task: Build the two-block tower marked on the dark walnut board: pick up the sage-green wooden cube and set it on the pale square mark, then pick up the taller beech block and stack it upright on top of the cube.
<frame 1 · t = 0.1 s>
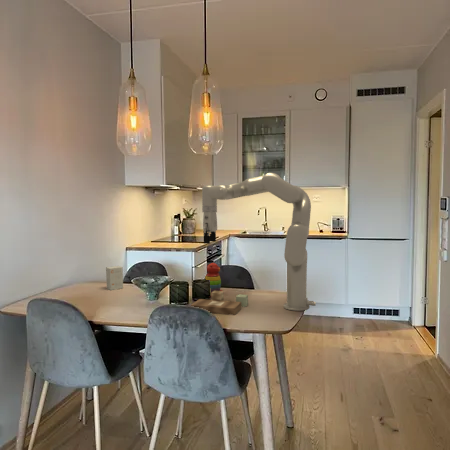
hand: (209, 242, 210), 31 cm above the table, tool pointing down, fingers open, 9 cm apart
stacking bear: (213, 294, 226), on the table
beech block: (217, 303, 208), on the table
base board: (216, 309, 197), on the table
sage cube: (242, 305, 204), on the table
small box: (114, 288, 243), on the table
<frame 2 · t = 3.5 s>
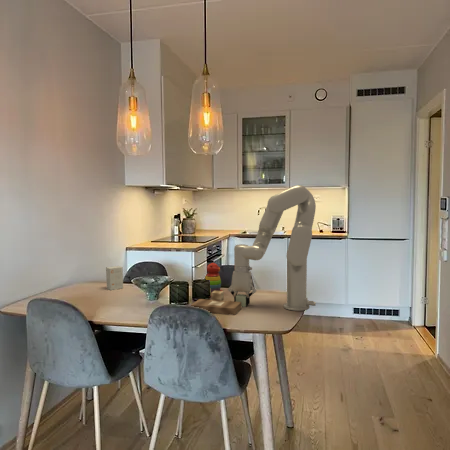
hand: (241, 304, 204), 0 cm above the table, tool pointing down, fingers closed on sage cube, 5 cm apart
sage cube: (241, 305, 204), on the table, touching gripper
everything else where it was.
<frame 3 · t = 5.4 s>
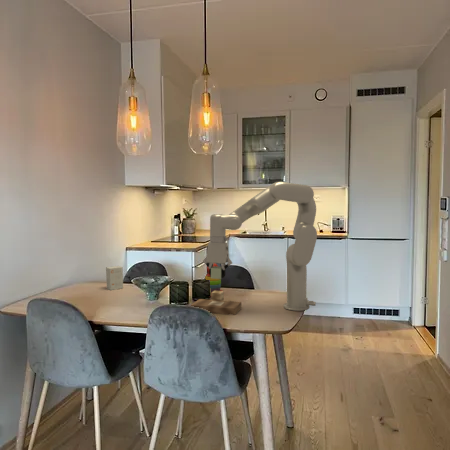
hand: (217, 276, 196), 16 cm above the table, tool pointing down, fingers closed on sage cube, 5 cm apart
sage cube: (217, 277, 196), point 16 cm above the table, touching gripper
everything else where it was.
when the fingers open (5 cm above the table, at t = 7.6 s): sage cube stays where it is, resting on base board.
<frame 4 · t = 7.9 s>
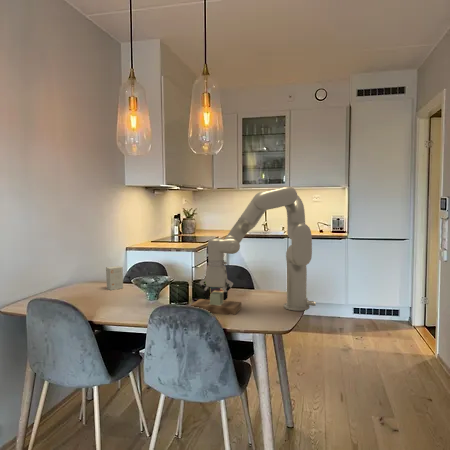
hand: (216, 298, 196), 5 cm above the table, tool pointing down, fingers open, 8 cm apart
sage cube: (216, 303, 196), point 3 cm above the table, touching base board
everything else where it was.
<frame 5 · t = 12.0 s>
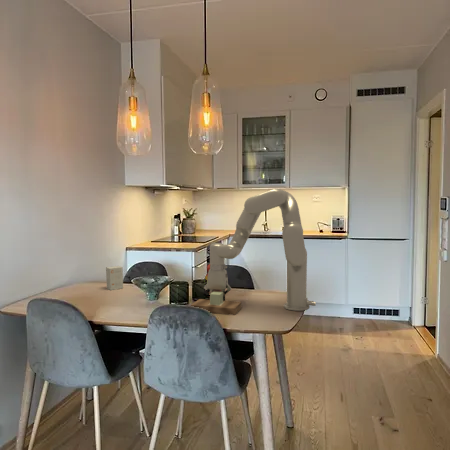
hand: (217, 302, 208), 1 cm above the table, tool pointing down, fingers closed on beech block, 5 cm apart
beech block: (217, 303, 208), on the table, touching gripper
everything else where it was.
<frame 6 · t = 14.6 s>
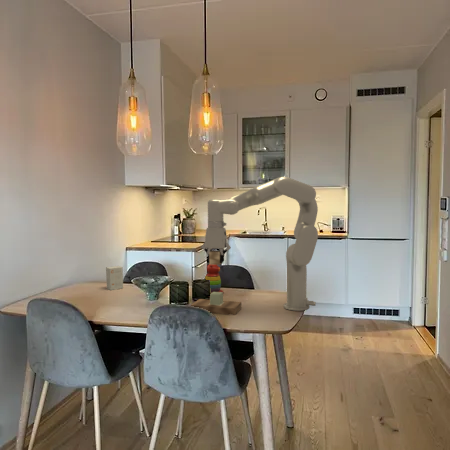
hand: (216, 262, 195), 23 cm above the table, tool pointing down, fingers closed on beech block, 5 cm apart
beech block: (216, 263, 195), point 23 cm above the table, touching gripper
everything else where it was.
when the fingers open (10 cm above the table, at t = 17.5 s): beech block stays where it is, resting on sage cube.
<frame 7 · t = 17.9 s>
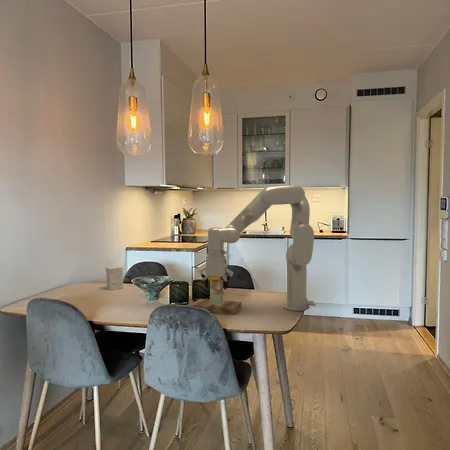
hand: (216, 288, 196), 11 cm above the table, tool pointing down, fingers open, 9 cm apart
beech block: (216, 293, 196), point 8 cm above the table, touching sage cube
sage cube: (216, 303, 196), point 3 cm above the table, touching base board, beech block
everything else where it was.
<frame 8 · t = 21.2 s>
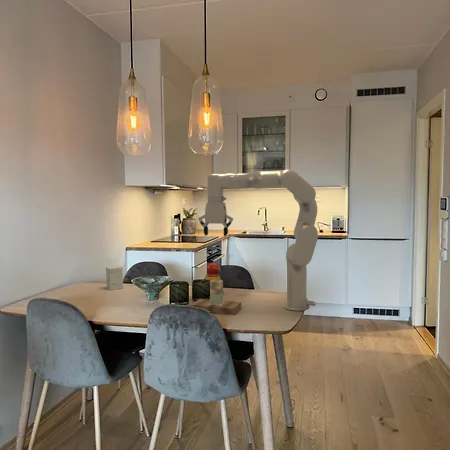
hand: (215, 235, 194), 36 cm above the table, tool pointing down, fingers open, 9 cm apart
nothing on the table moved.
at the end: sage cube inside the target area on the base board (0.1 cm from its centre), point 3.1 cm above the base board's base; beech block 0.0 cm off-centre on the sage cube, point 5.0 cm above the sage cube's base; beech block tilted 0° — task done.
